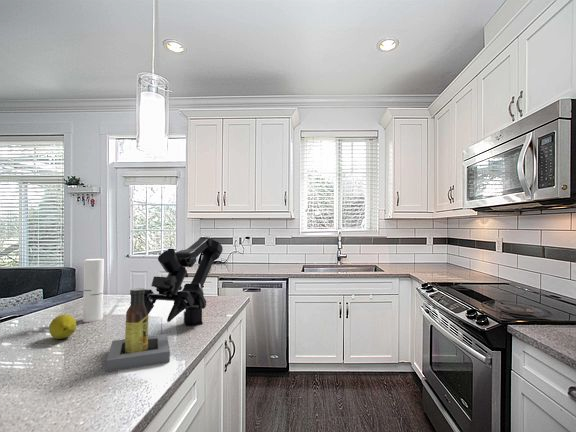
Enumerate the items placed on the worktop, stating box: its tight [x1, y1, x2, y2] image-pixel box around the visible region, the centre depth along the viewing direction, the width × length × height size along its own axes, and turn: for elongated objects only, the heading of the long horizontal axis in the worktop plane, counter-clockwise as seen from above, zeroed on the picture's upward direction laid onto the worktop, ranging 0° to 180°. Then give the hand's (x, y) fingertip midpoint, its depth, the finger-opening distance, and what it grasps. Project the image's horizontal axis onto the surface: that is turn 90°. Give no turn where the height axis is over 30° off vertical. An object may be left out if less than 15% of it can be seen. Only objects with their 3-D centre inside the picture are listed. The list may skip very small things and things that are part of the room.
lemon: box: [48, 314, 77, 340], centre depth 110 cm, size 11×8×8 cm
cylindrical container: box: [82, 258, 105, 323], centre depth 132 cm, size 7×7×25 cm
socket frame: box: [105, 333, 171, 373], centre depth 95 cm, size 16×16×3 cm
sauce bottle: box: [124, 287, 149, 354], centre depth 96 cm, size 7×6×20 cm
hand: (155, 320), depth 102 cm, fingers open, 9 cm apart
